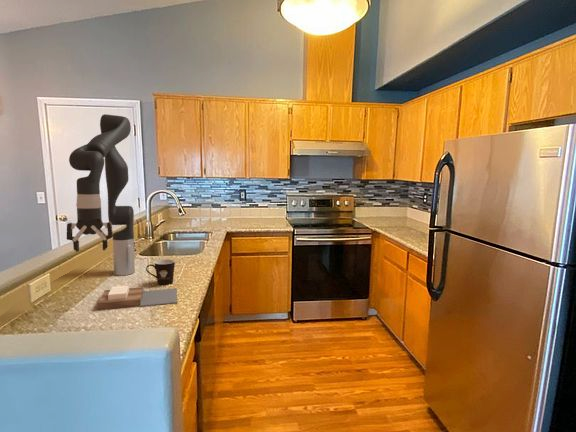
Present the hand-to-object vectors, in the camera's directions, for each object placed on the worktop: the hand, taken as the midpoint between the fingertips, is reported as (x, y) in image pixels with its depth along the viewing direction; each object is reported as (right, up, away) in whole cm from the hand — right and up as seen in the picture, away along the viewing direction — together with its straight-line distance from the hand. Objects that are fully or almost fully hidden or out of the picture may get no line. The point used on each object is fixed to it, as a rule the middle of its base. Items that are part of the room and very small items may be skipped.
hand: (91, 250), depth 118 cm
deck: (+8, -20, +6) cm, 23 cm away
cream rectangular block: (+8, -18, +5) cm, 20 cm away
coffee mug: (+15, -18, +28) cm, 37 cm away
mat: (+21, -20, +10) cm, 31 cm away
